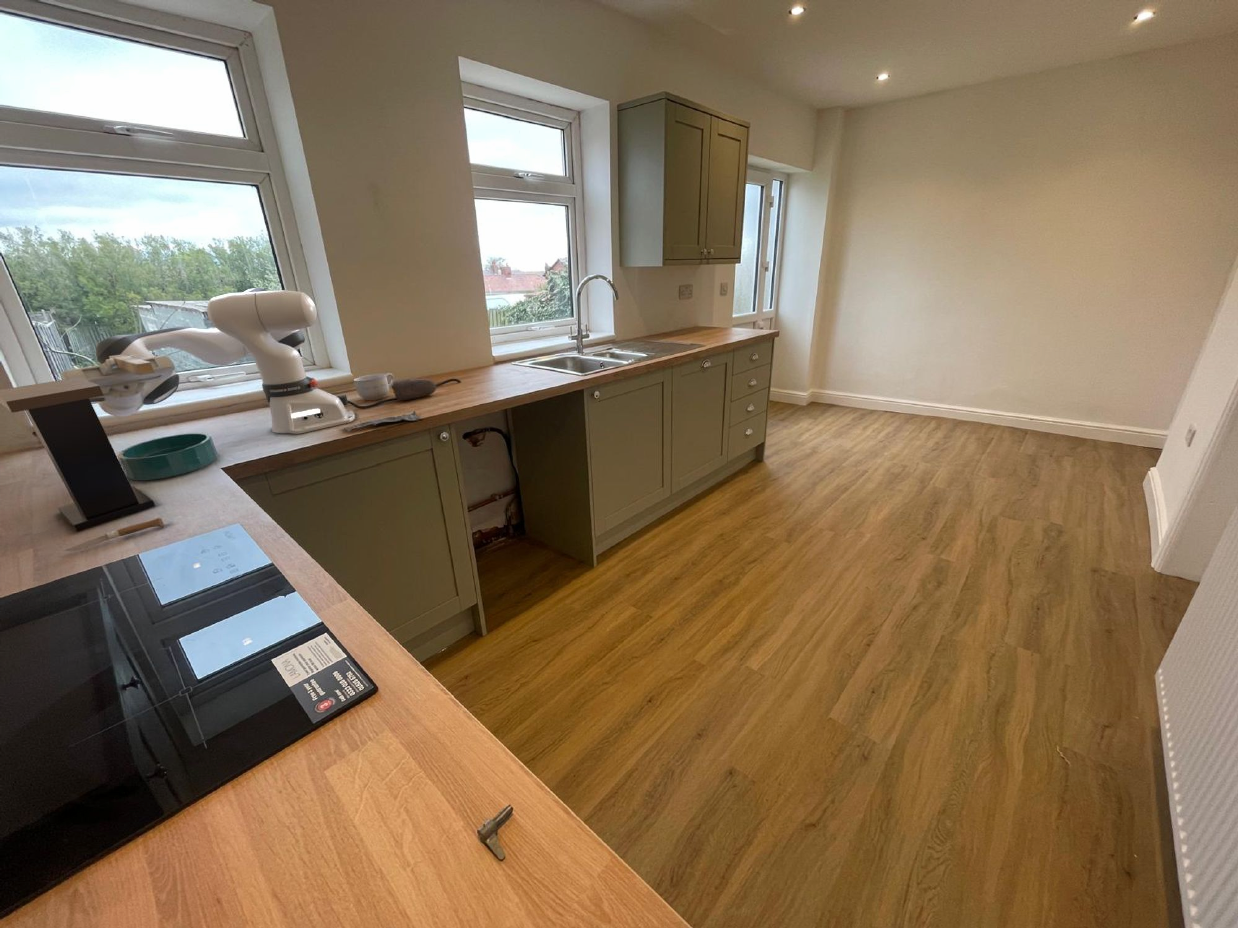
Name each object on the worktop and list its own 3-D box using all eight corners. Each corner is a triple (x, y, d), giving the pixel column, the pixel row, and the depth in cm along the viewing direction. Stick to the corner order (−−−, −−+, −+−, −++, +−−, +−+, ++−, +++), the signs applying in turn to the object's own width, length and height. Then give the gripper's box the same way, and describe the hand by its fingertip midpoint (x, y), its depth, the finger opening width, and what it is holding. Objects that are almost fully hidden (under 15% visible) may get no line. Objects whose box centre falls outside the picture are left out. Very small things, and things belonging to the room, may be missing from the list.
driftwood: (345, 434, 144) (343, 427, 143) (343, 428, 149) (341, 421, 148) (420, 420, 153) (419, 414, 152) (416, 415, 158) (414, 409, 158)
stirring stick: (113, 366, 121) (108, 356, 120) (126, 364, 123) (121, 354, 122) (141, 375, 109) (136, 364, 108) (154, 372, 111) (150, 362, 110)
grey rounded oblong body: (435, 392, 183) (431, 373, 180) (440, 395, 179) (436, 376, 176) (392, 400, 175) (388, 381, 172) (396, 403, 171) (391, 384, 168)
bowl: (222, 449, 137) (214, 428, 134) (213, 470, 123) (204, 447, 120) (139, 464, 129) (129, 442, 126) (119, 488, 115) (107, 464, 112)
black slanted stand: (59, 511, 105) (-8, 391, 95) (132, 489, 114) (78, 377, 104) (77, 531, 96) (5, 401, 86) (155, 506, 105) (99, 385, 95)
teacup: (363, 404, 172) (358, 381, 169) (354, 398, 180) (349, 376, 177) (404, 396, 181) (399, 374, 177) (394, 390, 188) (389, 369, 185)
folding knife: (66, 557, 88) (60, 548, 87) (66, 554, 89) (60, 544, 88) (165, 527, 97) (161, 518, 96) (164, 524, 98) (160, 515, 97)
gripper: (177, 385, 136) (182, 363, 127) (72, 404, 121) (70, 381, 111) (165, 364, 135) (169, 340, 126) (58, 381, 120) (55, 356, 111)
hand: (122, 360), depth 119 cm, fingers closed on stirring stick, 2 cm apart
